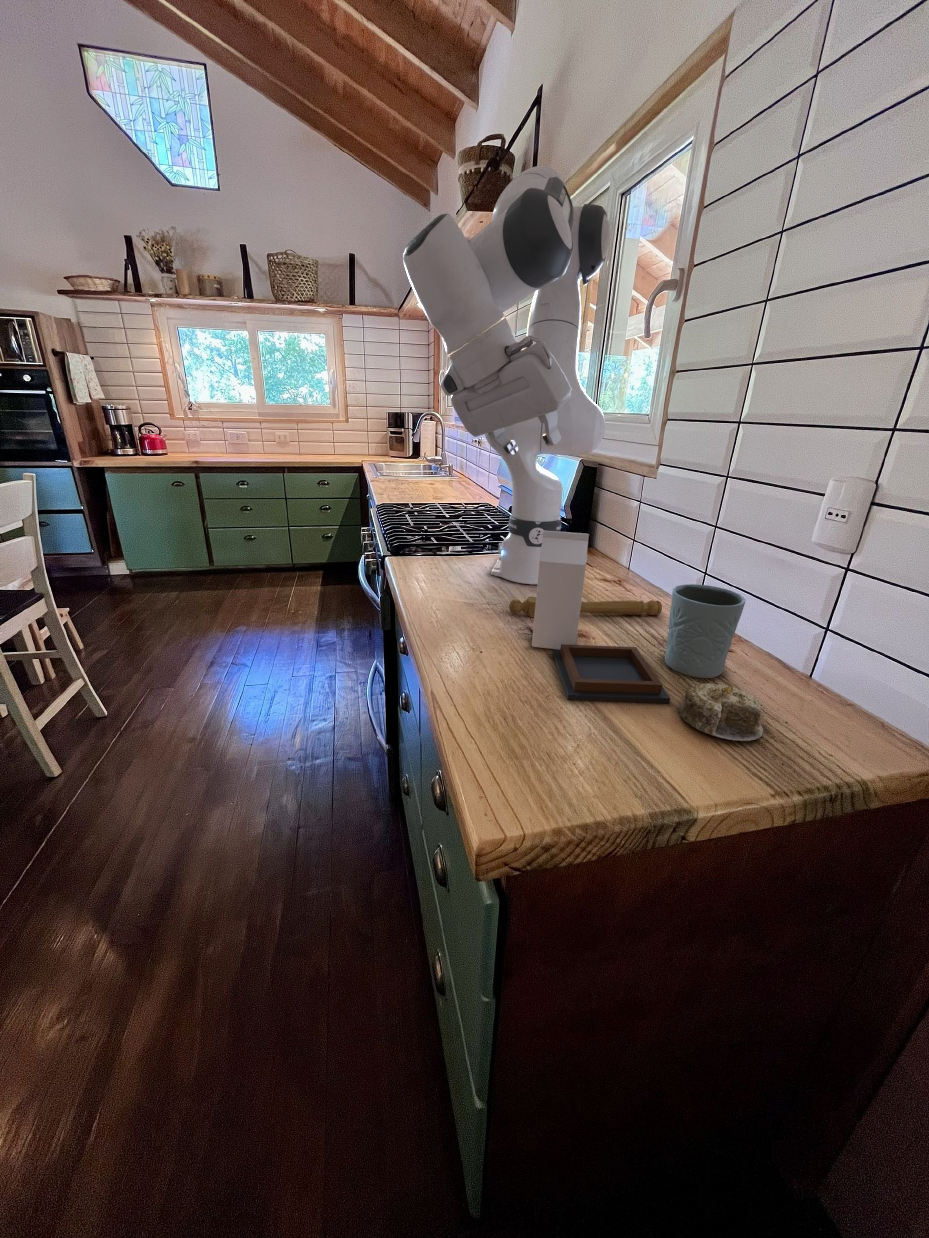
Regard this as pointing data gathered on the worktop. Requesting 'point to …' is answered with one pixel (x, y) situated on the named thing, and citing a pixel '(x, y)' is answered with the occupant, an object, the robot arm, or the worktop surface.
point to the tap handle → (596, 607)
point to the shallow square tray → (607, 674)
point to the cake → (723, 712)
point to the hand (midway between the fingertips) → (532, 448)
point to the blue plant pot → (701, 629)
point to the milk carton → (559, 589)
